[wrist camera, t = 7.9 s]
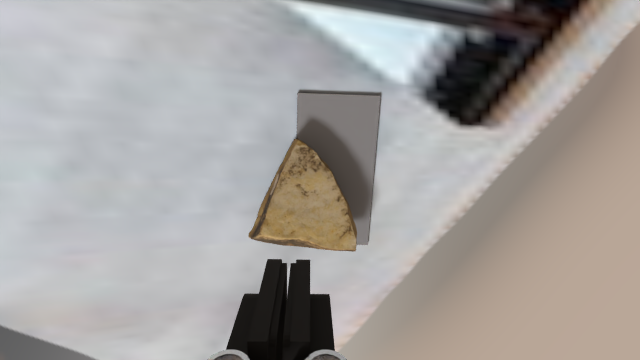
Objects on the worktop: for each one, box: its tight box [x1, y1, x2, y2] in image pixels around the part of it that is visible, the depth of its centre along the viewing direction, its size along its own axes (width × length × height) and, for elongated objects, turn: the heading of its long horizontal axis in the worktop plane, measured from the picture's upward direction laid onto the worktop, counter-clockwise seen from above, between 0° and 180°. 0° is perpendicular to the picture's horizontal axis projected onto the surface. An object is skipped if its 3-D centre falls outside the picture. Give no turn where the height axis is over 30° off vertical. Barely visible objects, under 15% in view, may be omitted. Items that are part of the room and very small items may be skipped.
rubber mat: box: [297, 93, 380, 245], centre depth 31 cm, size 8×16×1 cm, turn 178°
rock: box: [249, 139, 357, 251], centre depth 30 cm, size 11×9×10 cm
